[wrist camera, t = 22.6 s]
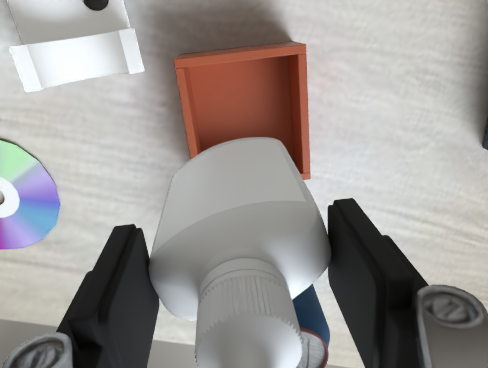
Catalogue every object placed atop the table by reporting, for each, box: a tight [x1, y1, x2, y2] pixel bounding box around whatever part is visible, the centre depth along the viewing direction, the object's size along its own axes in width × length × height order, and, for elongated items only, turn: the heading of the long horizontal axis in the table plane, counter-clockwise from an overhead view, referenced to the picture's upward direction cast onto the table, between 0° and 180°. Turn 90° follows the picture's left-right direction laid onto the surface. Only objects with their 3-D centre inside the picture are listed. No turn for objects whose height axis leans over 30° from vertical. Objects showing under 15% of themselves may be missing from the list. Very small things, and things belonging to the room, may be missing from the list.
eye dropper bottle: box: [148, 137, 332, 368], centre depth 12 cm, size 4×6×12 cm
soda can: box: [292, 284, 330, 368], centre depth 33 cm, size 7×7×12 cm
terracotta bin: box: [174, 42, 310, 180], centre depth 29 cm, size 10×9×5 cm
